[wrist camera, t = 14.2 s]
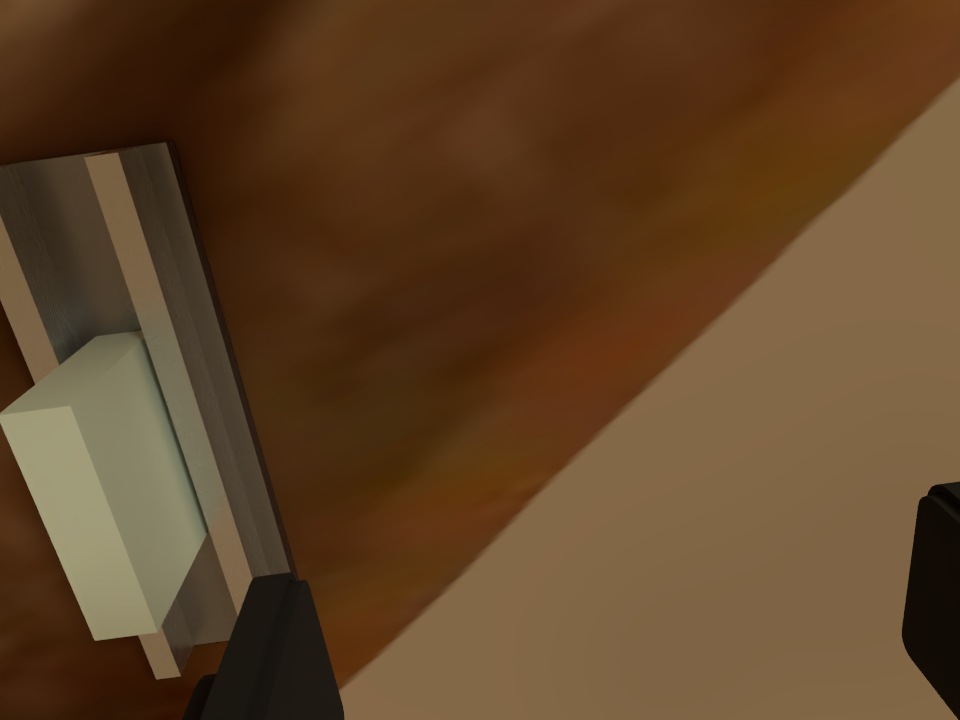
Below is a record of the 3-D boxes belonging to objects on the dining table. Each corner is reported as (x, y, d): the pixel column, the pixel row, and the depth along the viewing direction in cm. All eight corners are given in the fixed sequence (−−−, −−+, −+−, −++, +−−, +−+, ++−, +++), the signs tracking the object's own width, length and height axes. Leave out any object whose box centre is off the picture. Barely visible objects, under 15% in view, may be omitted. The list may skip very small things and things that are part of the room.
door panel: (96, 336, 37) (-4, 415, 29) (153, 328, 37) (70, 405, 29) (163, 526, 42) (94, 640, 34) (214, 519, 42) (157, 632, 34)
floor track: (-31, 168, 35) (-79, 180, 32) (173, 140, 35) (145, 148, 32) (157, 639, 47) (135, 682, 43) (309, 618, 47) (299, 660, 43)
